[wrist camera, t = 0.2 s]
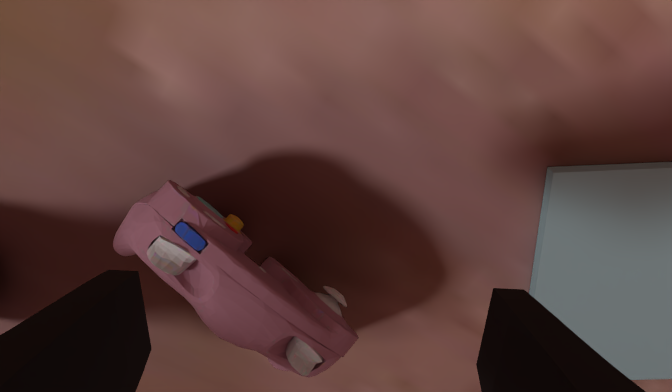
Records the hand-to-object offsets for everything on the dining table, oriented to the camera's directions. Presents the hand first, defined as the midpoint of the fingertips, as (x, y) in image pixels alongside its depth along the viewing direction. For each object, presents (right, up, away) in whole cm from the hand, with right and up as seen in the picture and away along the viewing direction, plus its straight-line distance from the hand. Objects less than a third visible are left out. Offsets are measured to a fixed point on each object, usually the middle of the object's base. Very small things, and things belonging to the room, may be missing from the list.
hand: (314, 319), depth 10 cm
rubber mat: (+16, -1, +11) cm, 19 cm away
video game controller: (-3, 0, +11) cm, 12 cm away
